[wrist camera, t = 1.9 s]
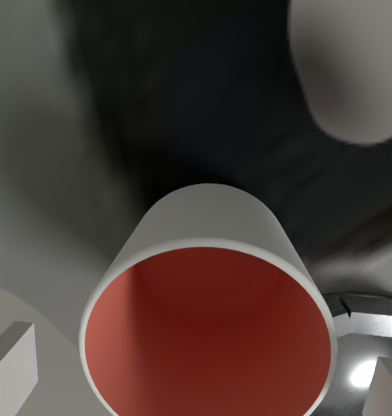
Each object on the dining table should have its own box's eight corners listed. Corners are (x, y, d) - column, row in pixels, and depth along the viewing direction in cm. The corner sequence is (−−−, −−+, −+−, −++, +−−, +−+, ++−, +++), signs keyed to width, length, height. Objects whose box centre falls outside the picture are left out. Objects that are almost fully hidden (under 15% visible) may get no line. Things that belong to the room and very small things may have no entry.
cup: (144, 314, 24) (96, 452, 14) (129, 181, 21) (56, 241, 11) (281, 313, 23) (329, 457, 13) (285, 176, 20) (351, 234, 10)
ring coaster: (249, 281, 22) (253, 302, 20) (483, 303, 22) (518, 328, 19) (225, 448, 27) (227, 483, 24) (418, 470, 26) (439, 507, 24)
